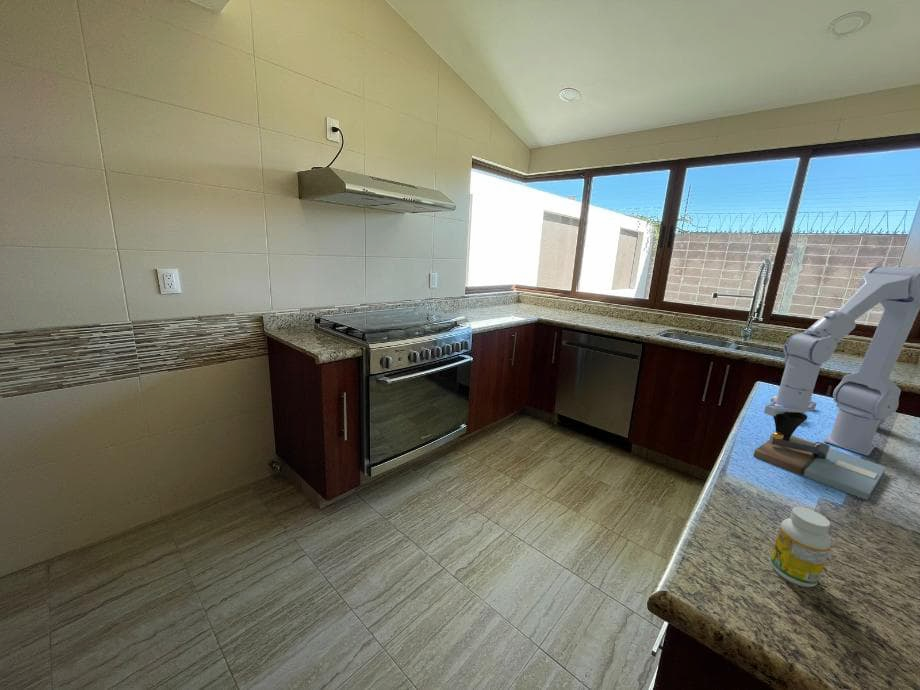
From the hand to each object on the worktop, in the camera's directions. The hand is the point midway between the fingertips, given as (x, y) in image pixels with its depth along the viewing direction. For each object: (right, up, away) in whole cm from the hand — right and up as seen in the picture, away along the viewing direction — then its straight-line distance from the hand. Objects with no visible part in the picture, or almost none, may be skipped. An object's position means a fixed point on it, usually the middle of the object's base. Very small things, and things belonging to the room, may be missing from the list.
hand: (781, 439), depth 90 cm
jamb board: (+1, -3, -1) cm, 4 cm away
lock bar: (+1, -2, -3) cm, 4 cm away
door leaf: (+7, -5, -8) cm, 12 cm away
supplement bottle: (-28, -11, -35) cm, 46 cm away
